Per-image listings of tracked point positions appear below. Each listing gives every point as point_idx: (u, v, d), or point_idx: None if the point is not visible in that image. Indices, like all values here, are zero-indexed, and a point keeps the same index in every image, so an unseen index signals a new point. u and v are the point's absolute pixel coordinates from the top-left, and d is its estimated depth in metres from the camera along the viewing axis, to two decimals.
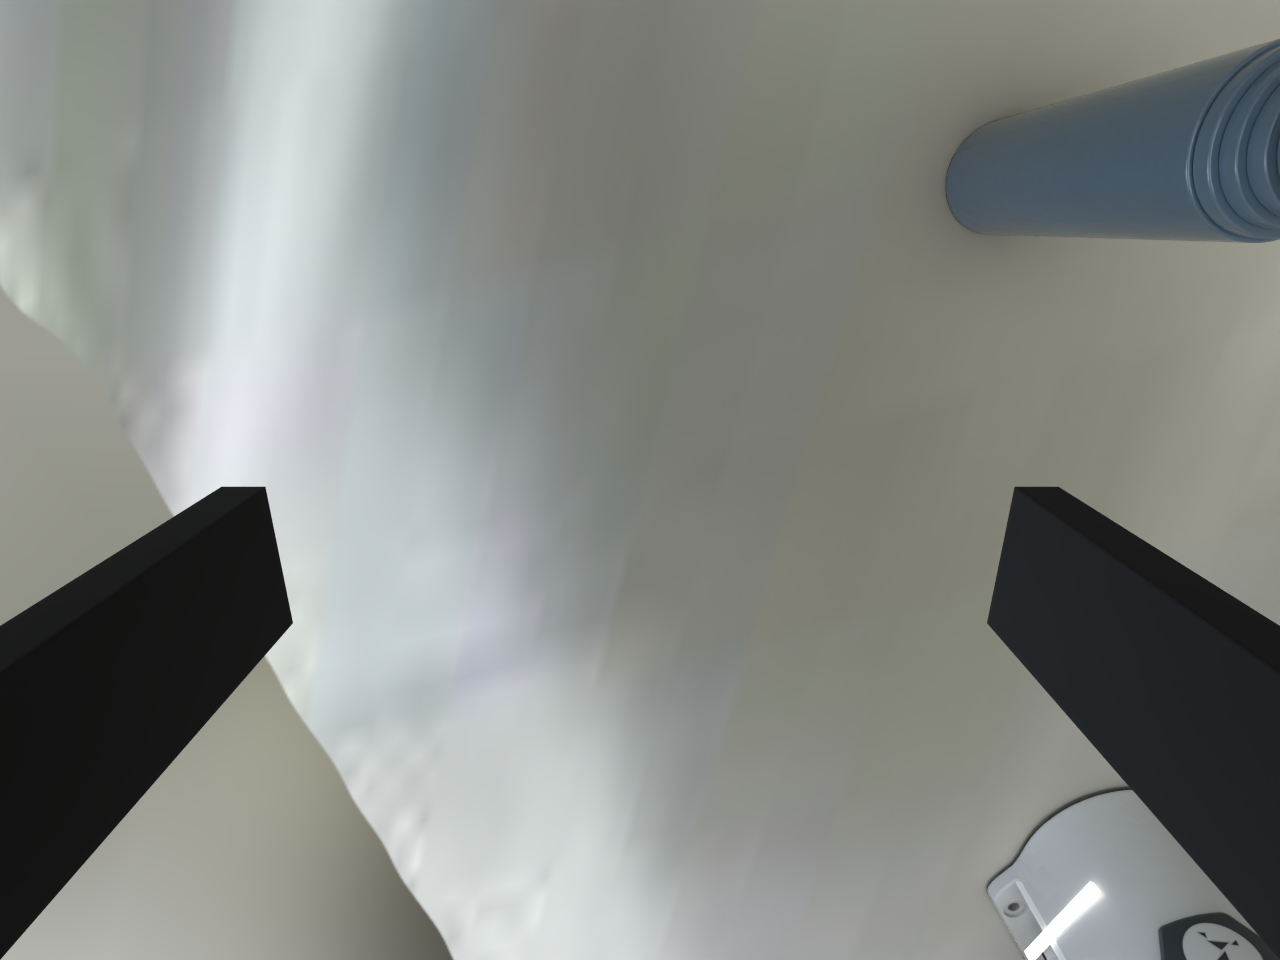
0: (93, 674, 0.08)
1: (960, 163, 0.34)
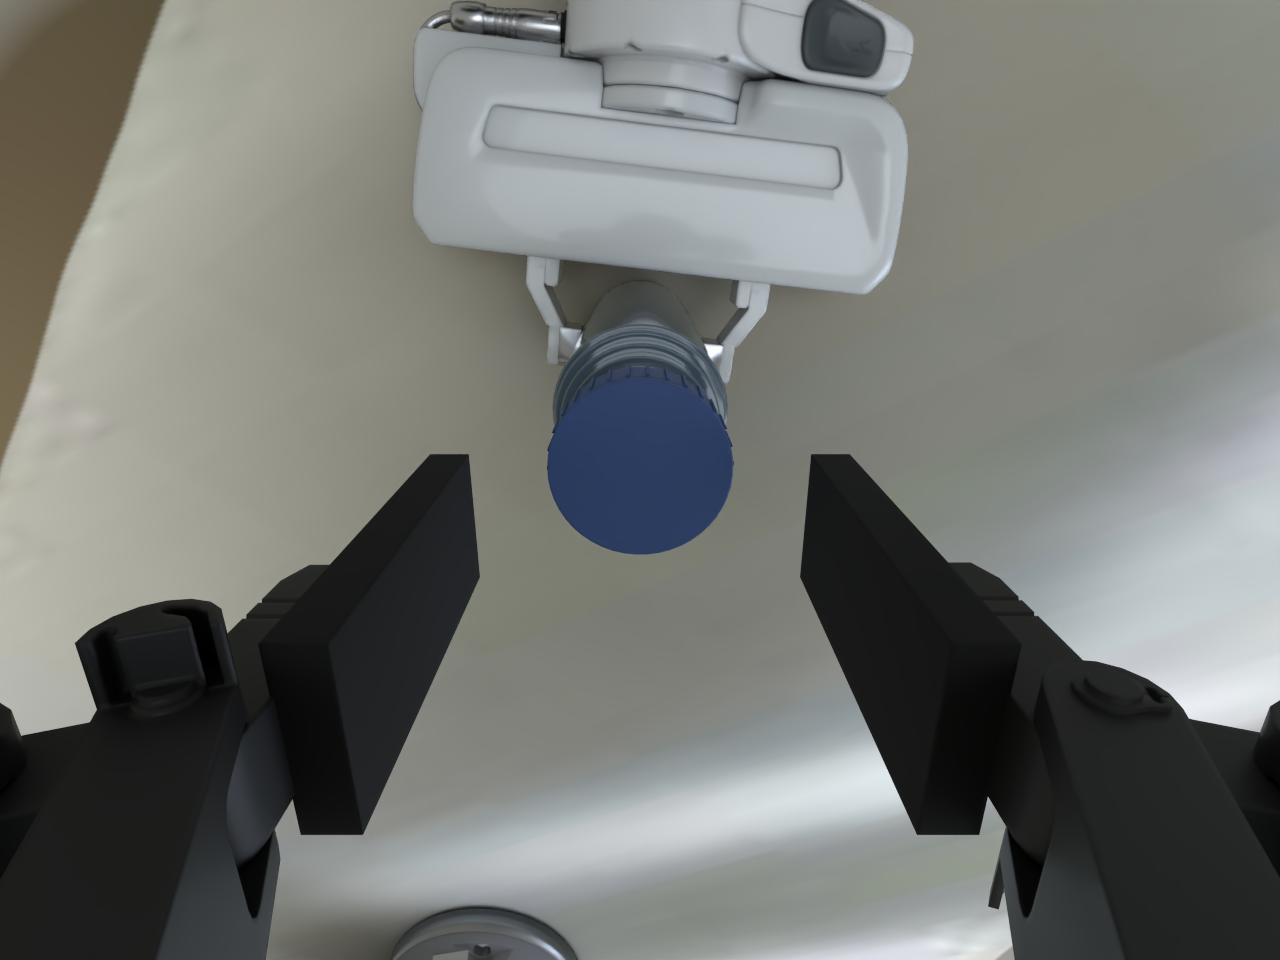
0: (403, 597, 0.10)
1: None
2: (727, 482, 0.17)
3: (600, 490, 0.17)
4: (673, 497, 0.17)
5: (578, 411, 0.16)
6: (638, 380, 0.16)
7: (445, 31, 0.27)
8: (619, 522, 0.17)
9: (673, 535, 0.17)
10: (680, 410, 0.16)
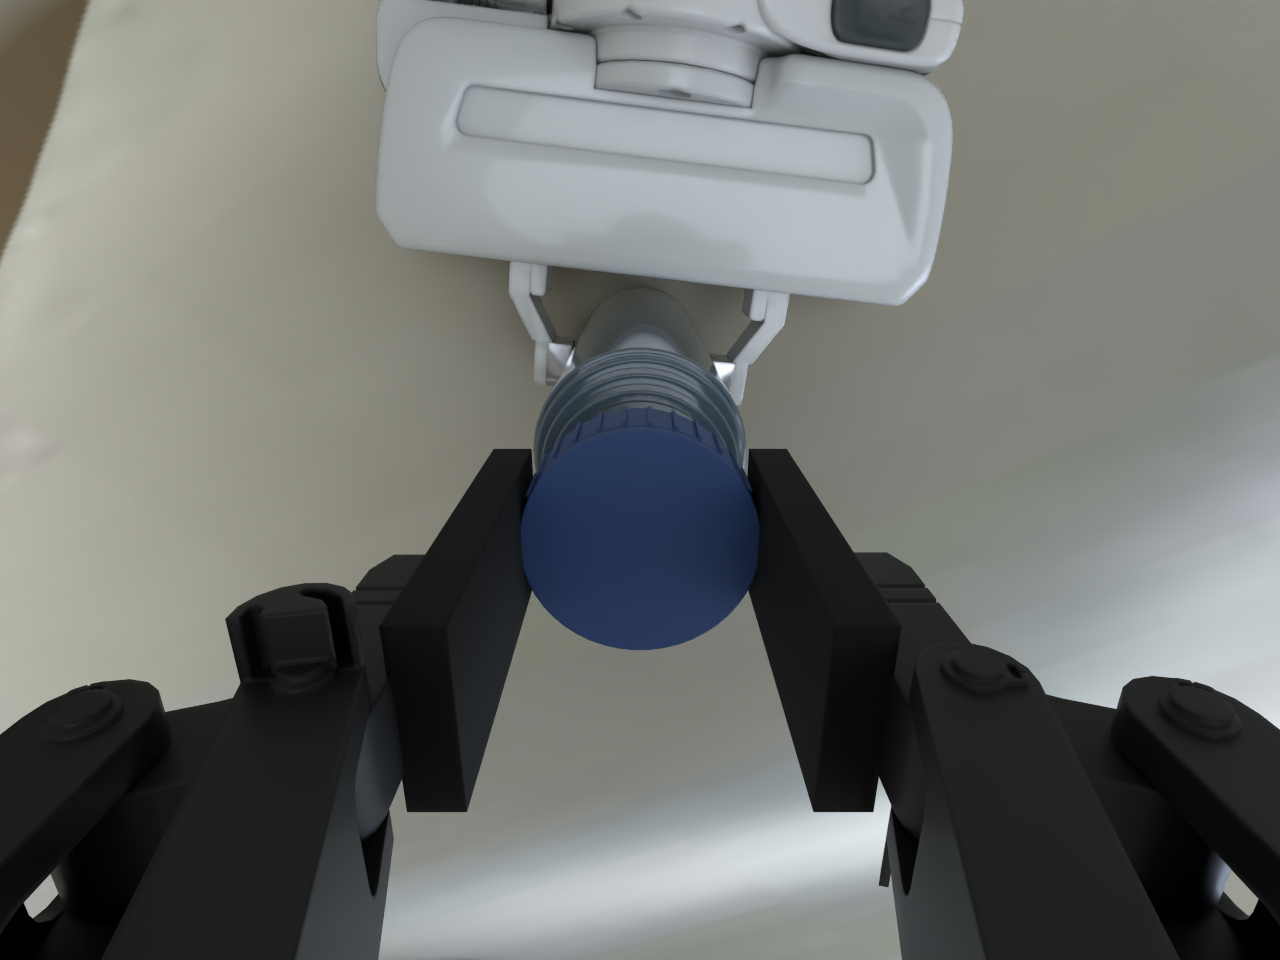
0: (491, 585, 0.10)
1: None
2: (753, 561, 0.13)
3: (588, 571, 0.13)
4: (683, 580, 0.13)
5: (558, 471, 0.12)
6: (637, 431, 0.12)
7: None
8: (613, 611, 0.13)
9: (683, 626, 0.13)
10: (693, 470, 0.12)
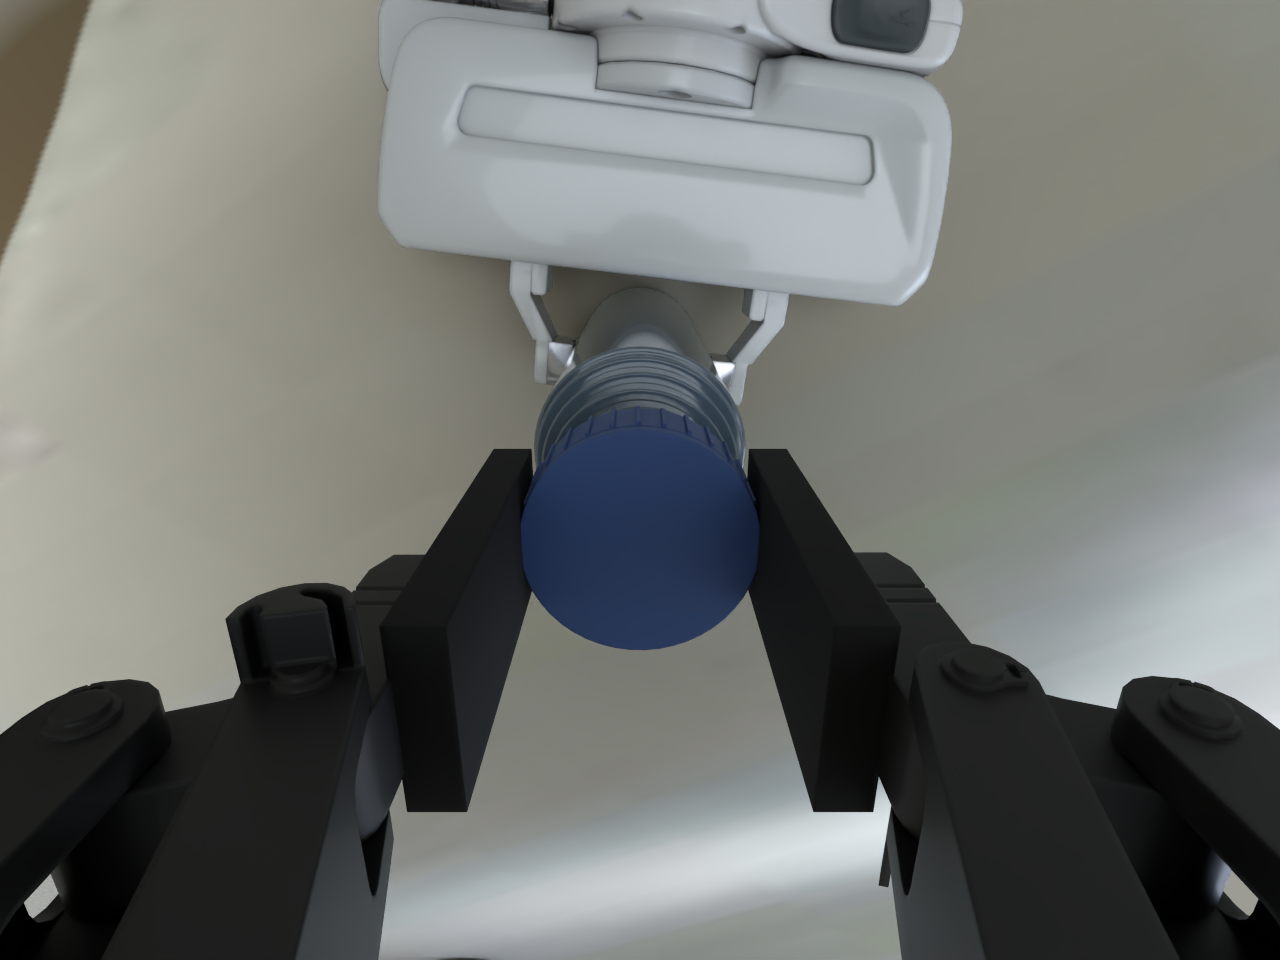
0: (491, 585, 0.10)
1: None
2: (582, 450, 0.12)
3: (691, 571, 0.13)
4: (644, 494, 0.12)
5: (620, 641, 0.13)
6: (547, 607, 0.13)
7: (414, 0, 0.23)
8: (716, 529, 0.13)
9: (691, 462, 0.12)
10: (543, 553, 0.13)
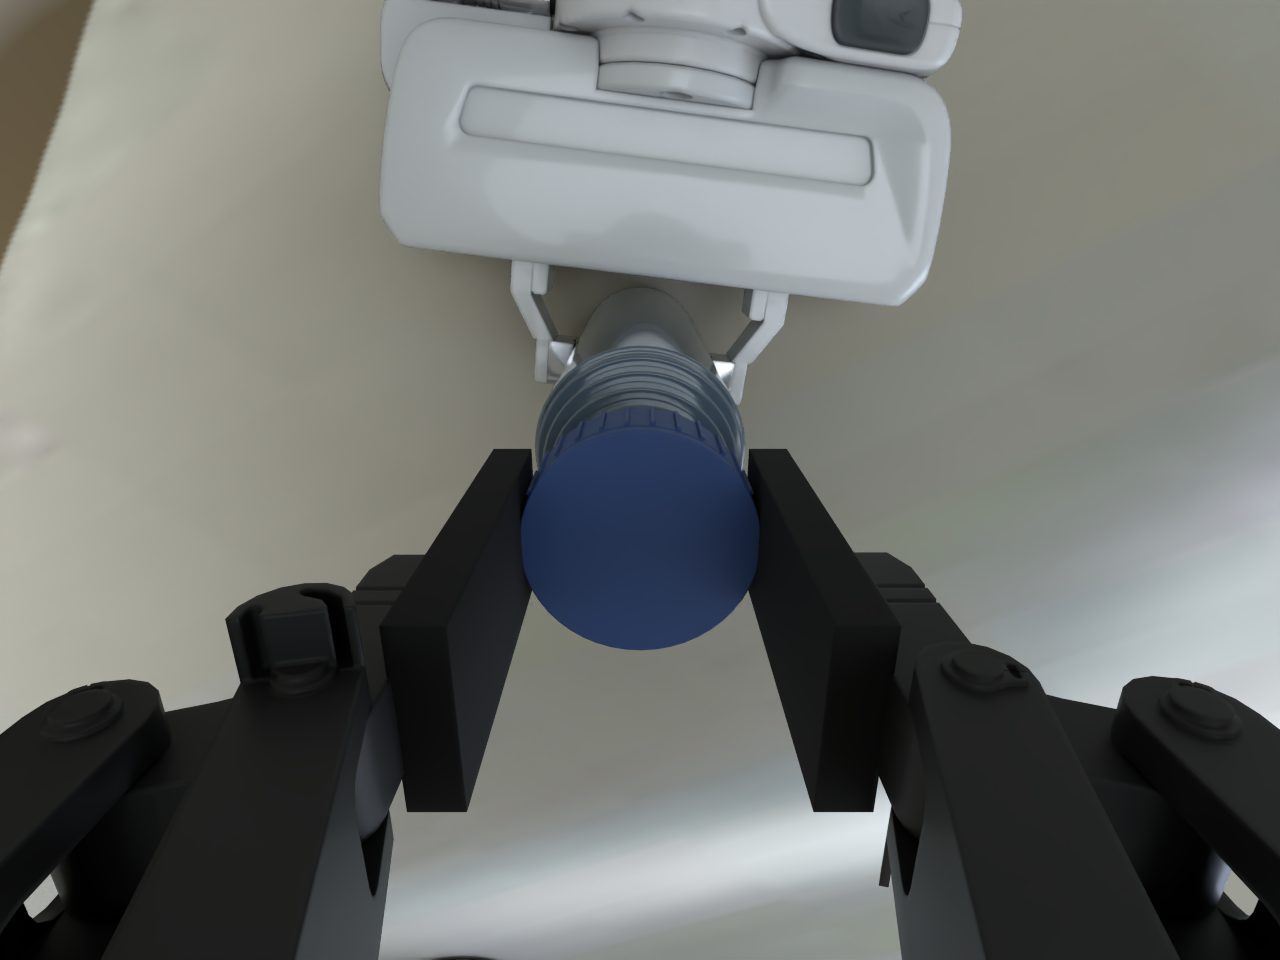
0: (491, 585, 0.10)
1: None
2: (590, 636, 0.13)
3: (632, 493, 0.12)
4: (591, 573, 0.13)
5: (744, 503, 0.12)
6: (751, 579, 0.13)
7: (416, 0, 0.23)
8: (579, 501, 0.12)
9: (539, 558, 0.13)
10: (698, 613, 0.13)
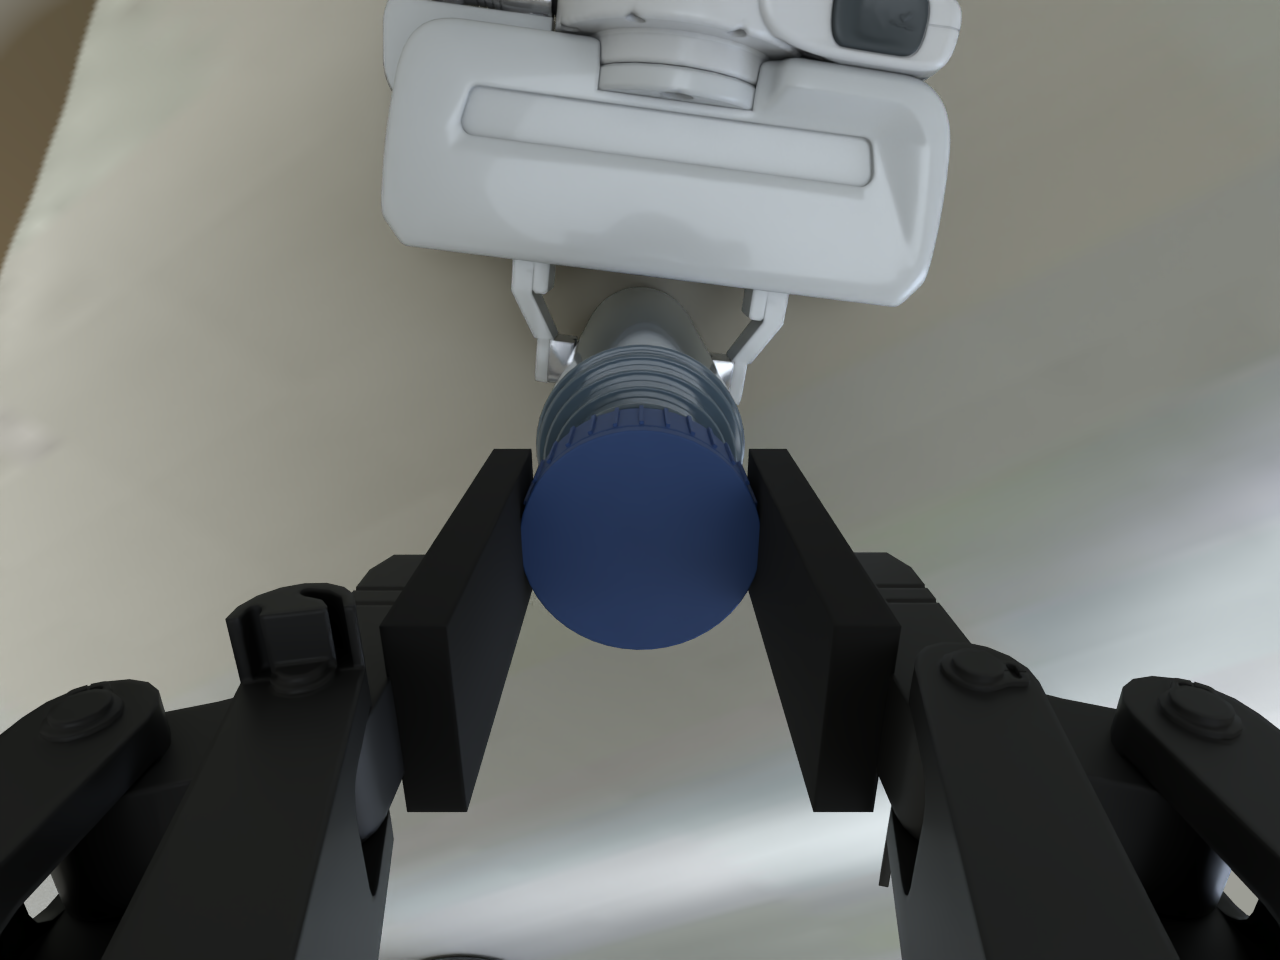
0: (491, 585, 0.10)
1: None
2: (755, 531, 0.13)
3: (598, 582, 0.13)
4: (692, 567, 0.13)
5: (540, 495, 0.12)
6: (603, 436, 0.12)
7: (419, 0, 0.24)
8: (634, 614, 0.13)
9: (706, 613, 0.13)
10: (667, 459, 0.12)
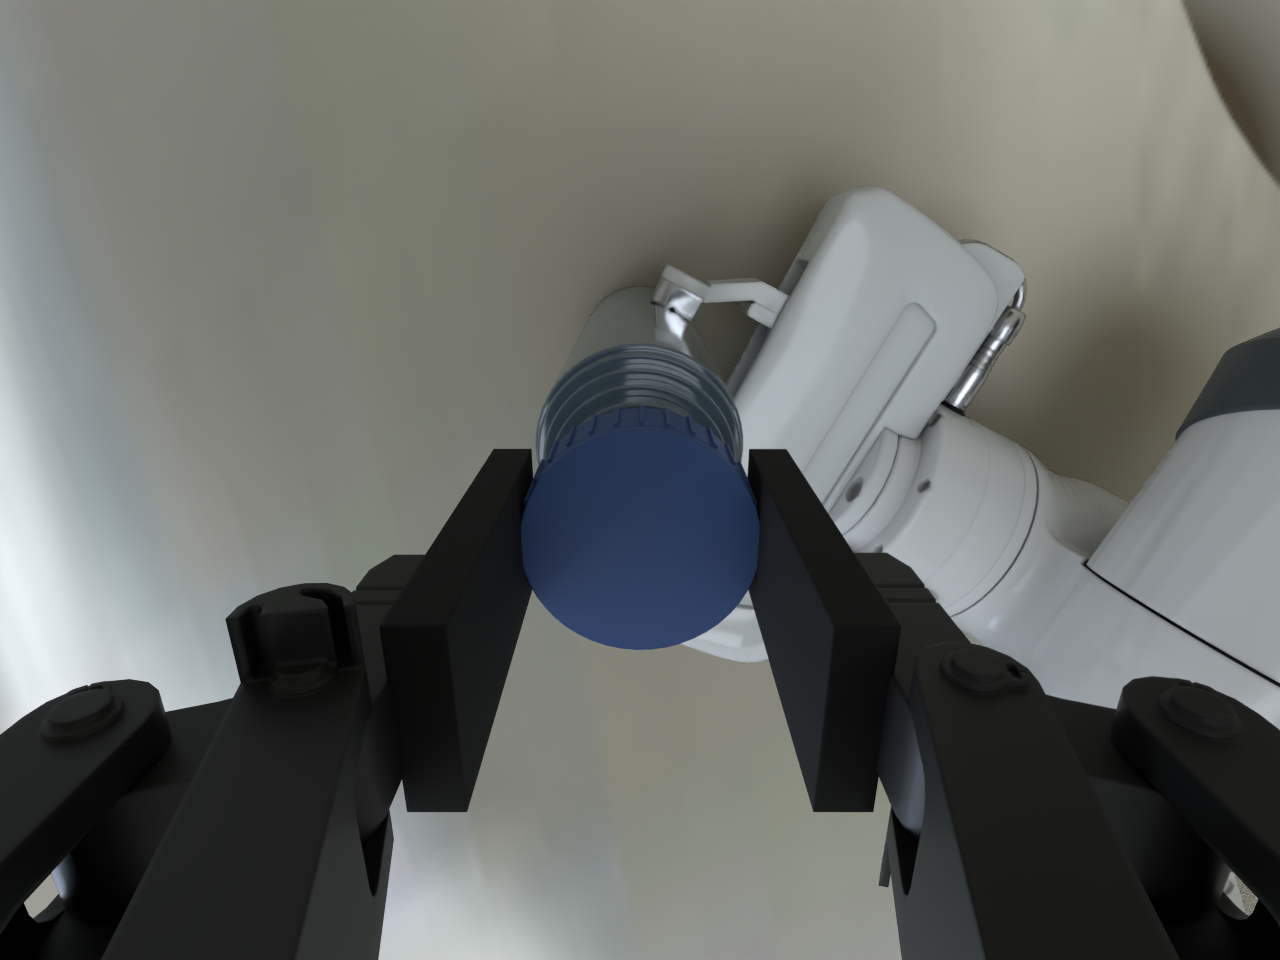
0: (491, 585, 0.10)
1: None
2: (755, 532, 0.13)
3: (598, 582, 0.13)
4: (692, 567, 0.13)
5: (540, 495, 0.12)
6: (603, 436, 0.12)
7: (1009, 299, 0.27)
8: (633, 614, 0.13)
9: (706, 613, 0.13)
10: (668, 459, 0.12)
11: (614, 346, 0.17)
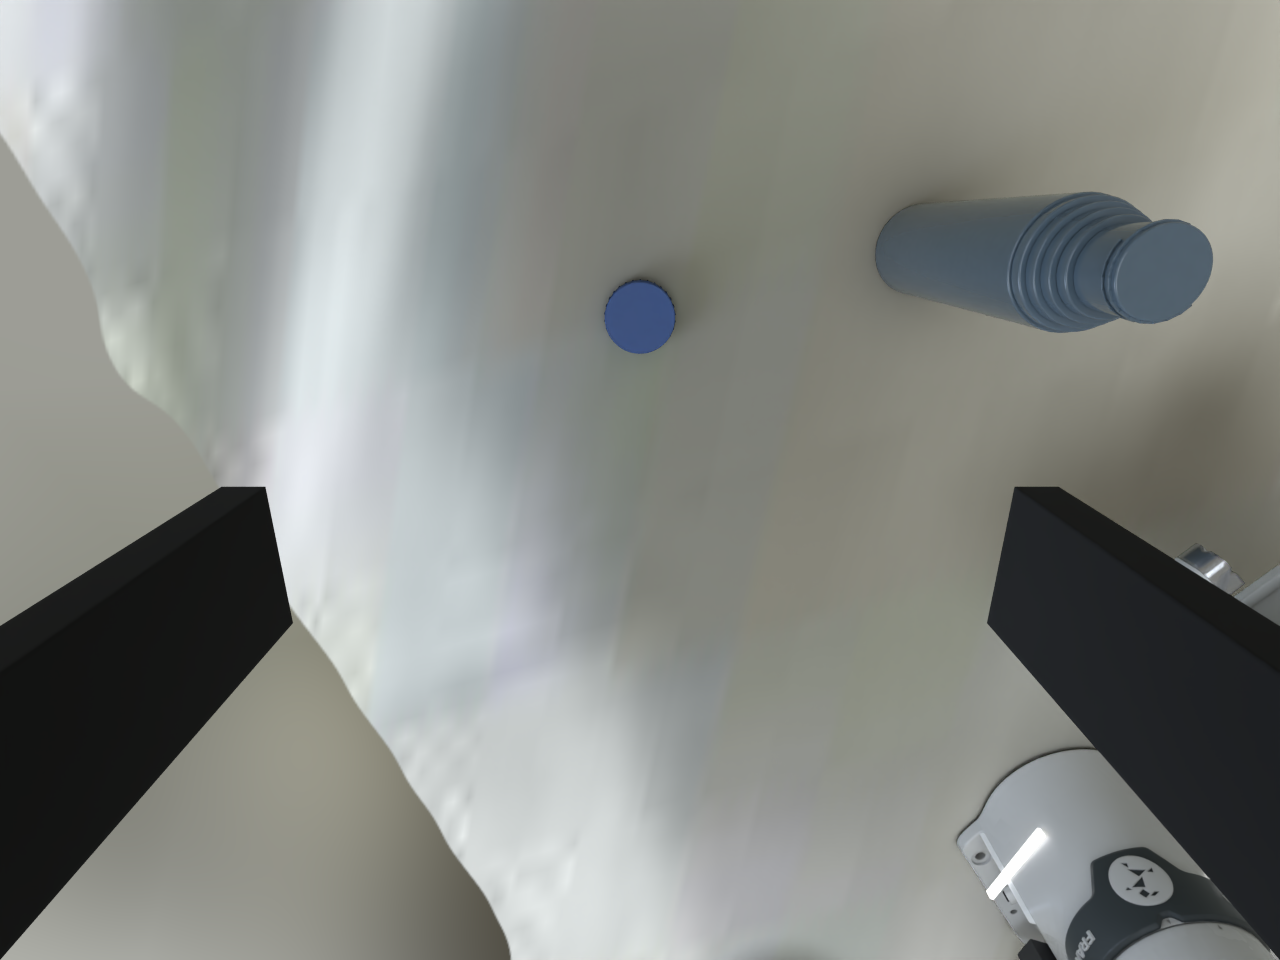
0: (93, 674, 0.08)
1: (883, 242, 0.43)
2: (673, 313, 0.44)
3: (627, 330, 0.44)
4: (655, 325, 0.44)
5: (611, 302, 0.44)
6: (629, 284, 0.43)
7: None
8: (638, 341, 0.45)
9: (659, 340, 0.45)
10: (647, 290, 0.43)
11: (1092, 192, 0.27)
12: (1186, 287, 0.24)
